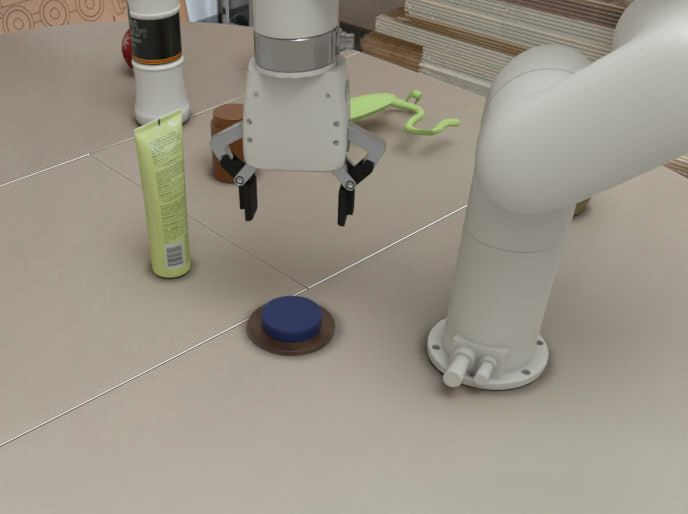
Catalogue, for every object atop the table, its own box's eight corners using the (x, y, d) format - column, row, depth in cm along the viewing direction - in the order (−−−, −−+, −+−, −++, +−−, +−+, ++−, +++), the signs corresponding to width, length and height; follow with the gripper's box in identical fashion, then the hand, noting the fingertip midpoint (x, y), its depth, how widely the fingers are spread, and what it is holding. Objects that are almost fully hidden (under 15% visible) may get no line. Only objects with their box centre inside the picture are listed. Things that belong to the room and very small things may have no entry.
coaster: (312, 365, 90) (313, 361, 89) (232, 340, 93) (232, 336, 93) (348, 316, 96) (348, 311, 95) (271, 295, 100) (271, 290, 99)
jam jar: (243, 186, 120) (241, 123, 113) (205, 178, 122) (201, 116, 116) (263, 168, 124) (262, 106, 117) (225, 160, 126) (223, 99, 120)
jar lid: (288, 299, 98) (288, 288, 97) (334, 322, 94) (334, 310, 93) (249, 326, 94) (249, 314, 93) (295, 350, 91) (295, 339, 90)
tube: (153, 256, 107) (137, 108, 94) (192, 254, 107) (181, 106, 94) (150, 280, 103) (133, 129, 90) (191, 279, 103) (179, 127, 90)
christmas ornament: (177, 66, 155) (173, 9, 148) (157, 83, 150) (152, 25, 143) (137, 61, 158) (131, 5, 151) (116, 78, 152) (109, 21, 146)
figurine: (461, 159, 122) (467, 122, 119) (283, 171, 122) (283, 134, 119) (431, 108, 136) (436, 74, 132) (270, 119, 136) (270, 85, 132)
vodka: (188, 130, 134) (174, -79, 114) (132, 132, 135) (108, -76, 114) (192, 107, 141) (179, -95, 120) (138, 109, 142) (116, -92, 121)
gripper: (396, 32, 75) (383, 204, 86) (212, 32, 79) (224, 196, 90) (389, 63, 70) (376, 241, 81) (192, 61, 74) (207, 231, 85)
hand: (296, 217), depth 86 cm, fingers open, 9 cm apart
